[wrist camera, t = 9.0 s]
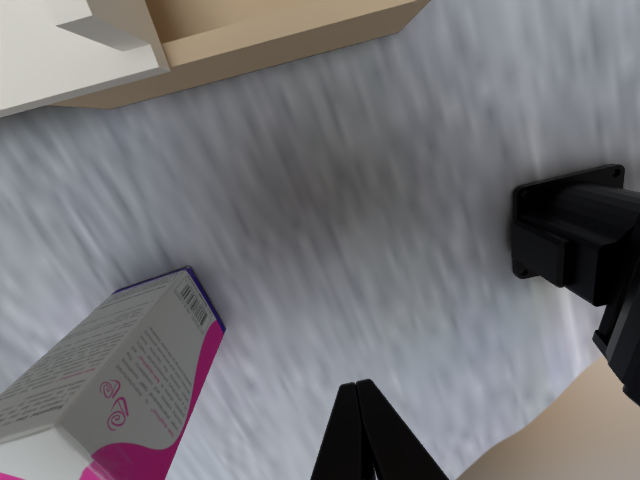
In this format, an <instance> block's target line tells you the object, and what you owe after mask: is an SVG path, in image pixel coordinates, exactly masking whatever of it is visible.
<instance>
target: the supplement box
mask: <svg viewBox="0 0 640 480" xmlns="http://www.w3.org/2000/svg"><path fill="white" fill-rule="evenodd" d="M225 331H226V329H225V327H224V325H223V323H222V322H221V320H220V318H219V316H218V315H217V313H216V311H215V309H214V307H213V306H212V304H211V302H210V301H209V299H208V297H207V296H206V294H205V292H204V290H203V289H202V287H201V285H200V284H199V282H198V280H197V278H196V277H195V275H194V273H193V271H192V270H191V268H190V266H187V267H184V268H181V269H178V270H175V271H172V272H170V273H167V274H164V275H161V276H158V277H156V278H153V279H149V280H147V281H144V282H140V283H137V284H134V285H132V286H129V287H126V288H123V289H120V290H117V291H115V292H114V293H113V294H112V295H111V296H110V297H109V298H108V299H106V300H105V301H104V302H103V303H102V304H101V305H100V306H99V307H97V308H96V309H95V310H94V311H93V312H92V313H91V314H90V315H89V316H88V317H87V318H86V319H84V320H83V321H82V322H81V323H80V324H79V325H78V326H77V327H75V328H74V329H73V330H72V331H71V332H70V333H69V334H67V335H66V336H65V337H64V338H63V339H62V340H61V341H59V342H58V343H57V344H56V345H55V346H54V347H53V348H52V349H51V350H50V351H49V352H48V353H46V354H45V355H44V356H43V357H42V358H41V359H40V360H38V361H37V362H36V363H35V364H34V365H33V366H32V367H31V368H30V369H28V370H27V371H26V372H25V373H24V374H23V375H22V376H21V377H19V378H18V379H17V380H16V381H15V382H14V383H13V384H12V385H11V386H9V387H8V388H7V389H6V390H5V391H4V392H3V393H2V394H1V395H0V480H165V478H166V475H167V473H168V470H169V468H170V465H171V463H172V460H173V458H174V455H175V453H176V450H177V448H178V445H179V443H180V441H181V438H182V436H183V433H184V431H185V428H186V426H187V423H188V421H189V419H190V416H191V414H192V412H193V409H194V406H195V404H196V401H197V399H198V396H199V394H200V392H201V389H202V387H203V384H204V382H205V379H206V377H207V374H208V372H209V369H210V367H211V364H212V362H213V360H214V357H215V355H216V353H217V350H218V348H219V345H220V343H221V340H222V338H223V335H224V333H225Z"/></svg>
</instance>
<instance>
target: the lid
mask: <svg viewBox="0 0 640 480" xmlns="http://www.w3.org/2000/svg"><path fill="white" fill-rule="evenodd" d="M167 72H171V70H170V68H169V65H168V62H167V60H166V57H165V54H164V51H163V49H162V46H161V43H160V41H159V38H158V35H157V32H156V30H155V27H154V24H153V22H152V19H151V16H150V13H149V11H148V8H147V5H146V3H145V0H0V118H1V117H4V116H8V115H12V114H16V113H19V112H23V111H27V110H30V109H34V108H38V107H41V106H45V105H49V104H52V103H56V102H60V101H64V100H67V99H71V98H75V97H78V96H82V95H86V94H89V93H93V92H97V91H100V90H104V89H108V88H112V87H115V86H119V85H123V84H126V83H130V82H134V81H137V80H141V79H145V78H148V77H152V76H156V75H160V74H163V73H167Z"/></svg>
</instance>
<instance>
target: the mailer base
mask: <svg viewBox="0 0 640 480" xmlns="http://www.w3.org/2000/svg"><path fill="white" fill-rule="evenodd" d="M430 1H431V0H145V3H146V5H147V8H148V11H149V13H150V16H151V19H152V22H153V24H154V27H155V30H156V32H157V35H158V38H159V41H160V43H161V46H162V49H163V51H164V54H165V57H166V60H167V62H168V65H169V68H170V70H171V72H167V73H163V74H160V75H156V76H152V77H148V78H145V79H141V80H137V81H134V82H130V83H126V84H123V85H119V86H115V87H112V88H108V89H104V90H100V91H97V92H93V93H89V94H86V95H82V96H78V97H75V98H71V99H67V100H64V101H60V102H56V103H52V104H49V105H53V106H68V107H83V108H97V109H114V108H118V107H121V106H125V105H129V104H133V103H136V102H140V101H144V100H148V99H151V98H155V97H159V96H163V95H166V94H170V93H174V92H178V91H181V90H185V89H189V88H193V87H196V86H200V85H204V84H208V83H211V82H215V81H219V80H223V79H226V78H230V77H234V76H238V75H241V74H245V73H249V72H253V71H256V70H260V69H264V68H267V67H271V66H275V65H279V64H282V63H286V62H290V61H294V60H297V59H301V58H305V57H309V56H312V55H316V54H320V53H324V52H327V51H331V50H335V49H339V48H342V47H346V46H350V45H354V44H357V43H361V42H365V41H369V40H372V39H376V38H380V37H384V36H387V35H391V34H395V33H398V32H399V31H400V30H401V29H402V28H403V27H404V26H405V25H406V24H407V23H408V22H410V21H411V20H412V19H413V18H414V17H415V16H416V15H417V14H418V13H419V12H420V11H421V10H422V9H423V8H424V7H425V6H426V5H427V4H428V3H429V2H430Z"/></svg>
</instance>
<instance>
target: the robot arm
mask: <svg viewBox="0 0 640 480" xmlns="http://www.w3.org/2000/svg"><path fill="white" fill-rule="evenodd" d="M613 171H614V174H613V175H612V173H613ZM624 174H625V168H624V167H623V166H622V165H618V164H610V165H605V166H601V167H597V168H593V169H589V170H584V171H580V172H576V173H572V174H567V175H563V176H559V177H555V178H551V179H546V180H542V181H538V182H534V183H530V184H525V185H521V186H519V187H517V188H516V189H515V190H514V192H513V221H512V224H511V242H512V257H513V272H514V274H515V276H517V277H518V278H520V279H526V278H531V277H535V276H542V277H543V278H545V279H546V280H548V281H549V282H551V283H552V284H554V285H555V286H557V287H559V288H562V287H566V288H567V289H569V290H570V291H572V292H573V293H575V294H577V295H578V296H580V297H581V298H583V299H584V300H586V301H588V302H589V303H591V304H592V305H594V306H595V307H599V306H603V305H607V306H606V308H605V311H604V314H603V317H602V320H601V323H600V326H599V328H598V330H595V332H594V335H593V338H592V340H593V342H594V343H595V344H596V346H597V347H598V348H599V350H600V351H601V352H602V354H603V355H604V356H605V358H606V359H607V361H608V365H609V366H610V368H611V369H612V370H613V372H614V373H615V374H616V376H617V377H618V378H619V380H620V381H621V382H622V383H623V384H624V386H623V392H624V393H625V394H626V395H627V396H628V397H629V398H630V399H631V400H632V401H634V402H635V403H636V404H637V405H638V406H639V407H640V192H635V191H630V190H625V189H623V182H624ZM523 191H525V194H524V195H523V196H522V197H521V193H522V192H523ZM522 270H524V271H523V272H522V273H521V271H522ZM374 468H375V469H374ZM375 472H376V475H375ZM376 476H377V479H378V480H449V479H448V477H447V476H446V475H445V474H444V472H443V471H442V470H441V468H440V467H439V466H438V465H437V463H436V462H435V461H434V459H433V458H432V457H431V456H430V454H429V453H428V452H427V450H426V449H425V448H424V447H423V445H422V444H421V443H420V441H419V440H418V439H417V438H416V436H415V435H414V434H413V432H412V431H411V430H410V429H409V427H408V426H407V425H406V423H405V422H404V421H403V420H402V418H401V417H400V416H399V414H398V413H397V412H396V411H395V409H394V408H393V407H392V405H391V404H390V403H389V402H388V400H387V399H386V398H385V396H384V395H383V394H382V393H381V391H380V390H379V389H378V387H377V386H376V385H375V384H374V382H373V381H372V380H371V379H365V380H360V381H357V382H356V384H355V383H354V382H351V383H346V384H342V385H341V386H340V387H339V390H338V393H337V396H336V399H335V402H334V406H333V409H332V412H331V415H330V418H329V422H328V425H327V428H326V431H325V434H324V437H323V441H322V444H321V447H320V450H319V453H318V457H317V460H316V463H315V466H314V469H313V473H312V476H311V479H310V480H376Z"/></svg>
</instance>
